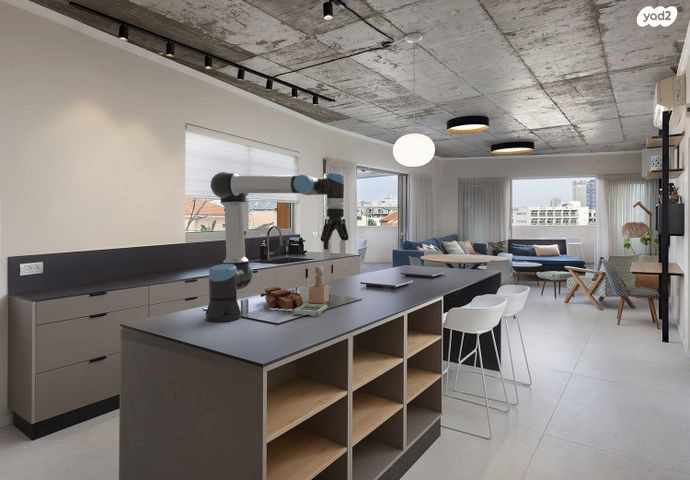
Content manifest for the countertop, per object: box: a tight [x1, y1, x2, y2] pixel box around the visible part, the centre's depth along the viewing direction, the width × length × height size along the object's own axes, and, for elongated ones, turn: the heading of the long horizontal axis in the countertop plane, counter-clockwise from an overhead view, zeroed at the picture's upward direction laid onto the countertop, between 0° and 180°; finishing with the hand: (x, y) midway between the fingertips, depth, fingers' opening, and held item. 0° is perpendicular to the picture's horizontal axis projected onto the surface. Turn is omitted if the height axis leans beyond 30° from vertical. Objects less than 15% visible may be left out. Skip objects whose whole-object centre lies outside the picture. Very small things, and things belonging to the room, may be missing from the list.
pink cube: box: [308, 284, 330, 304], centre depth 221 cm, size 8×8×9 cm
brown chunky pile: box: [259, 285, 304, 311], centre depth 214 cm, size 17×9×30 cm
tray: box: [292, 303, 329, 317], centre depth 201 cm, size 12×14×2 cm
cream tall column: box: [314, 266, 324, 287], centre depth 220 cm, size 4×4×18 cm
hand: (335, 255), depth 191 cm, fingers open, 13 cm apart
